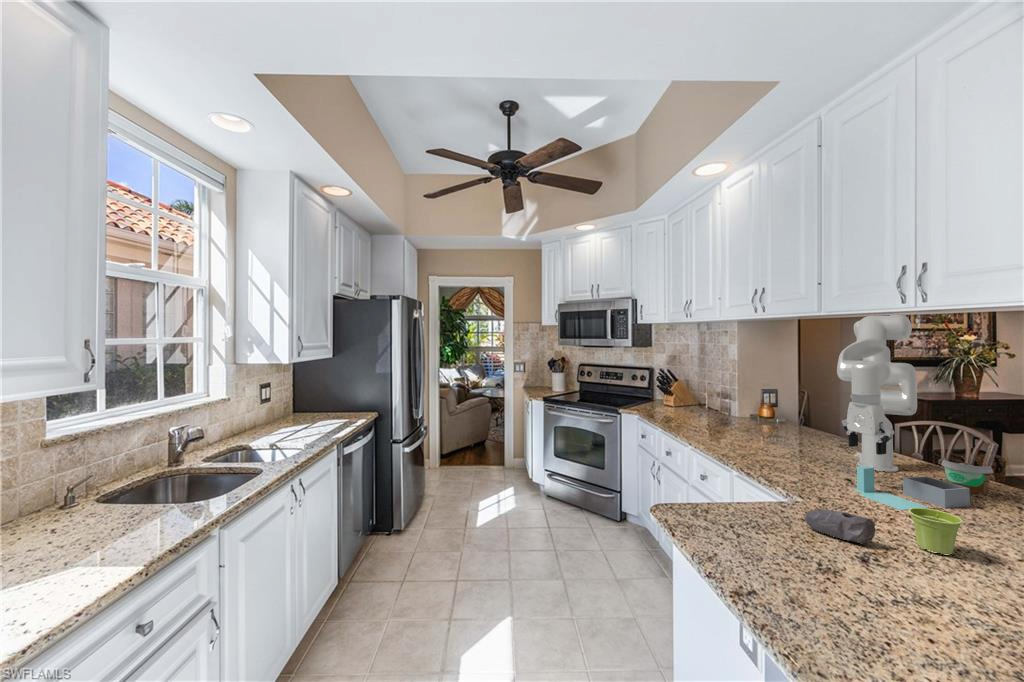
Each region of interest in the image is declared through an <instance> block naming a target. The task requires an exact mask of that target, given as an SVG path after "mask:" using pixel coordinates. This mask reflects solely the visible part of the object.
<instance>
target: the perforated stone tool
mask: <svg viewBox="0 0 1024 682" xmlns="http://www.w3.org/2000/svg"><path fill="white" fill-rule="evenodd" d="M804 515H805V516H804V517H803V519H804V521H805V523H806V525H807V526H809V528H811V529H812V530H814V531H816V532H818V531H819V532H818V533H820V532H821V533H820V534H824V533H825V534H826V535H828V536H829V535H831V536H834V537H837V538H840V539H843V540H847V541H846V542H857V543H860V544H859V545H864V544H867V543H870V542H871V541H872V540H873V539H874V538H875V536H876V535H875V534H876V531H877V530H876V522H875V521H874V520H872V519H871V518H868V517H864V516H861V515H857V514H853V513H849V512H844V511H839V510H838V511H837V510H833V509H832V510H831V509H813V510H812V509H811V510H809V511H806V513H805V514H804ZM831 536H830V537H831ZM834 537H833V538H834ZM837 538H836V539H837ZM840 539H839V540H840ZM843 540H842V541H843ZM857 543H856V544H857Z"/></svg>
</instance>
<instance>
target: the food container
mask: <svg viewBox="0 0 1024 682" xmlns="http://www.w3.org/2000/svg"><path fill="white" fill-rule="evenodd" d="M941 466H942V467H944V471H945V479H946V482H948V483H952V484H956V485H959V486H963V487H966V488H969V490H970V495H977V496H978V495H979V496H985V497H988V495H989V494H988V492H989V487H990V480H991V474H994V470H993V468H992V466H991V465H990V466H977V465H973V464H971V463H965V462H956V461H955V462H954V461H951V460H950V461H949V460H947V459H946V458H945V457H944V458H943V460H942V461H941Z"/></svg>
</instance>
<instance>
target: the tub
mask: <svg viewBox="0 0 1024 682" xmlns="http://www.w3.org/2000/svg"><path fill="white" fill-rule="evenodd" d="M902 494H903V495H904V496H908V497H910V498H913V499H917V500H919V501H923V502H924V503H925V502H926V503H927V504H928V503H929V504H930V505H935V506H937V507H940V508H942V509H943V508H944V509H953V508H962V507H963V508H965V507H971V505H970V503H971V502H970V501H971V500H970V498H971V497H970V495H971V494H970V490H969V488H966V487H963V486H959V485H956V484H952V483H948V482H947V481H944V480H941V479H937V478H933V477H930V476H925V475H924V476H923V475H922V476H912V477H910V476H909V477H908V476H907V477H902Z"/></svg>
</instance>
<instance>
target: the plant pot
mask: <svg viewBox="0 0 1024 682" xmlns="http://www.w3.org/2000/svg"><path fill="white" fill-rule="evenodd" d="M908 513H909V514H910V516H911V519H912V521H913V527H914V531H915V536H916V542H917V546H918V545H919V546H920V547H922V548H924V549H927V550H930V551H933V552H937V553H941V554H940V555H942V554H951V553H953V554H954V549H955V545H956V539H957V535H958V530H959V529H960V527H961V524H963V519H962V518H960V517H959V516H956V515H954V514H951V513H949V512H946V511H945V512H944V511H941V510H937V509H934V508H933V509H932V508H910V509H909V510H908ZM919 546H918V547H919ZM920 547H919V548H920Z"/></svg>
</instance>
